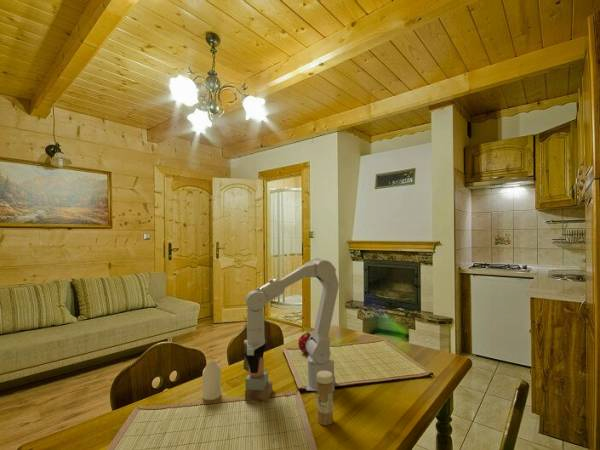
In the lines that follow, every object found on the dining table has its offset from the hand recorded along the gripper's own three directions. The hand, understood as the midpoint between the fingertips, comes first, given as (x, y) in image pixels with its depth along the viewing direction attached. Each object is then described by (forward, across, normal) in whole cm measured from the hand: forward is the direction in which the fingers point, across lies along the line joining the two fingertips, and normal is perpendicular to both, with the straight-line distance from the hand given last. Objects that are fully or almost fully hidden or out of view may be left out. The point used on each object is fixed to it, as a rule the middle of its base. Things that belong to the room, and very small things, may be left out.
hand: (256, 368), depth 104 cm
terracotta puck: (+1, 0, 0) cm, 1 cm away
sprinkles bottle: (+9, +12, +23) cm, 27 cm away
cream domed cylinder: (+9, +1, -15) cm, 18 cm away
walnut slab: (+9, 0, +1) cm, 9 cm away
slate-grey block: (+6, 0, 0) cm, 6 cm away
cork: (+9, -22, -8) cm, 25 cm away
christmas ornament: (+9, -37, +14) cm, 41 cm away
